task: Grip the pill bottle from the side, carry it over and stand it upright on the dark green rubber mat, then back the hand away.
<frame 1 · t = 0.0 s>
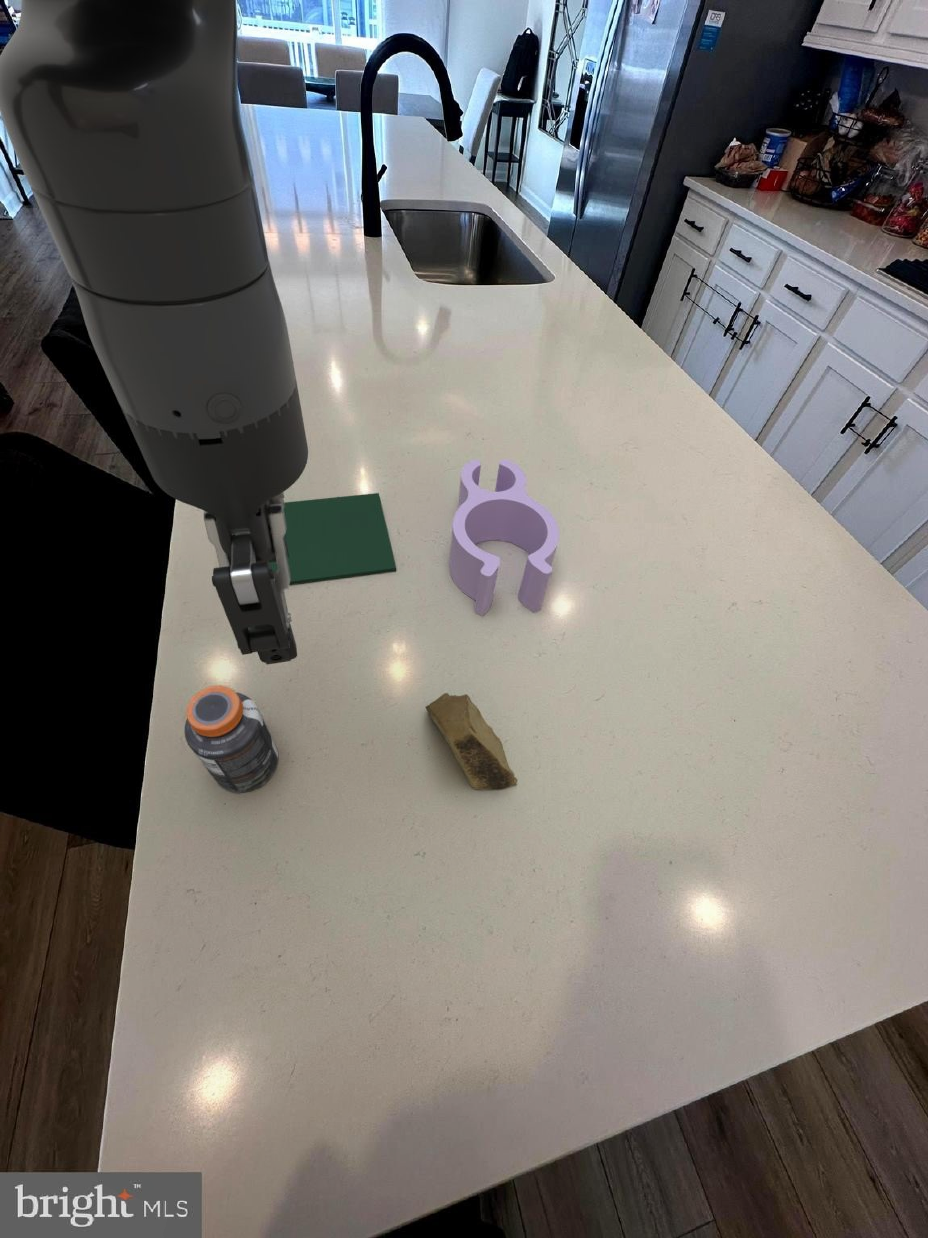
hand: (276, 604, 37), 21 cm above the worktop, tool pointing down, fingers open, 8 cm apart
rock: (467, 745, 56), on the worktop
pill bottle: (246, 764, 53), on the worktop
mat: (308, 540, 71), on the worktop
clip: (495, 553, 72), on the worktop
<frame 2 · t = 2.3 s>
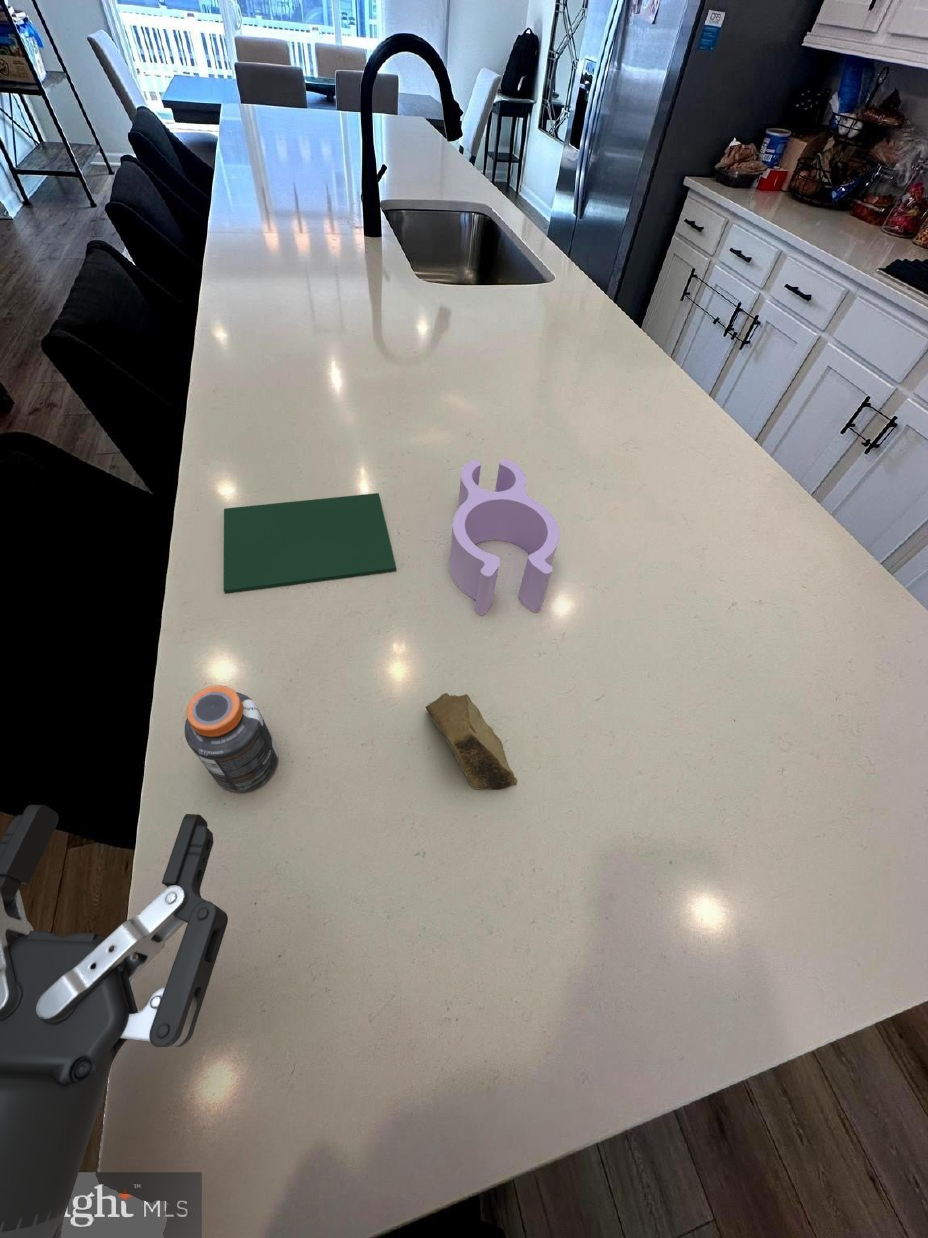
hand: (121, 813, 32), 18 cm above the worktop, tool horizontal, fingers open, 8 cm apart
nothing on the worktop moved.
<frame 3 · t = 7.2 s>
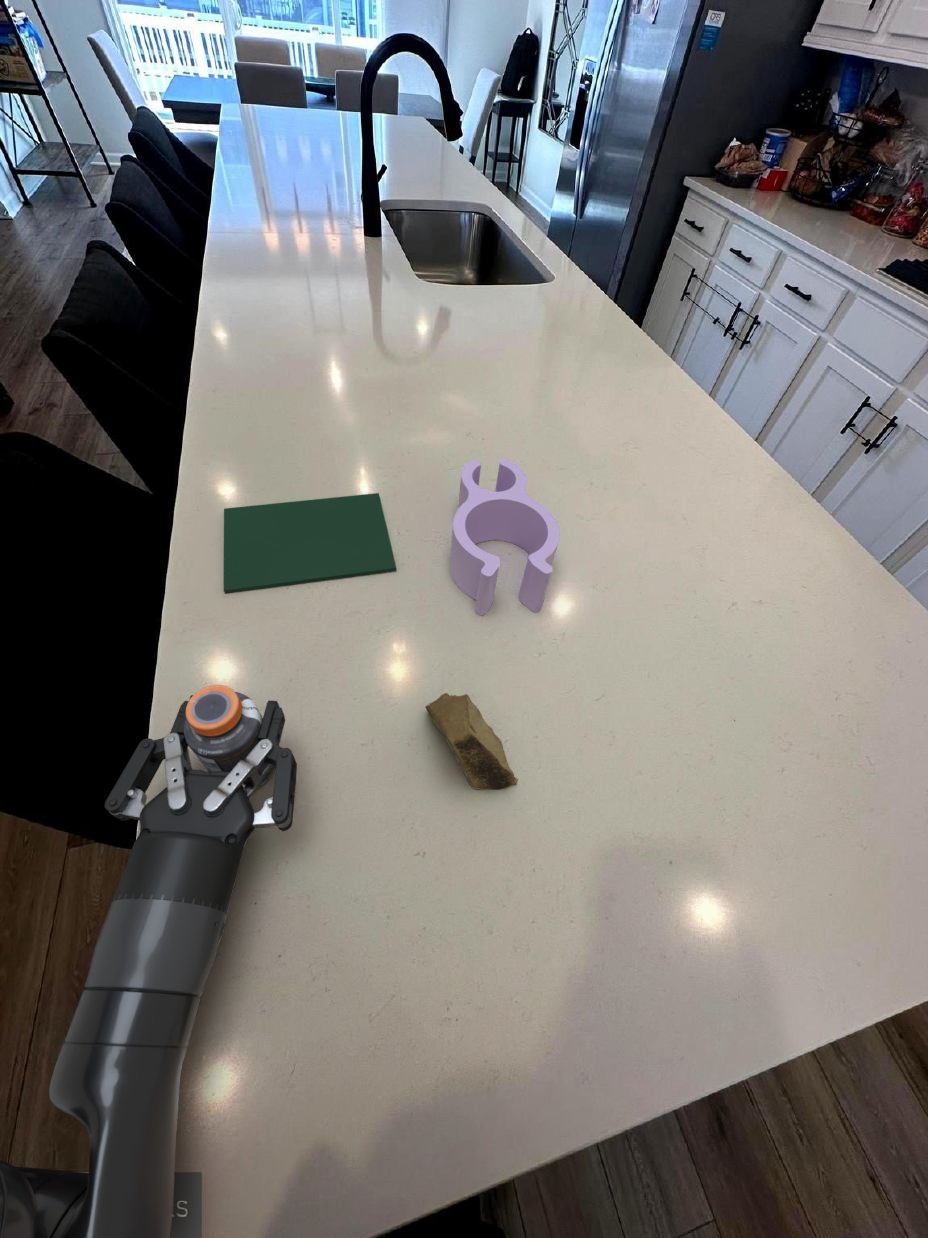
hand: (236, 702, 49), 7 cm above the worktop, tool horizontal, fingers closed on pill bottle, 6 cm apart
pill bottle: (246, 764, 53), on the worktop, touching gripper
everything else where it was.
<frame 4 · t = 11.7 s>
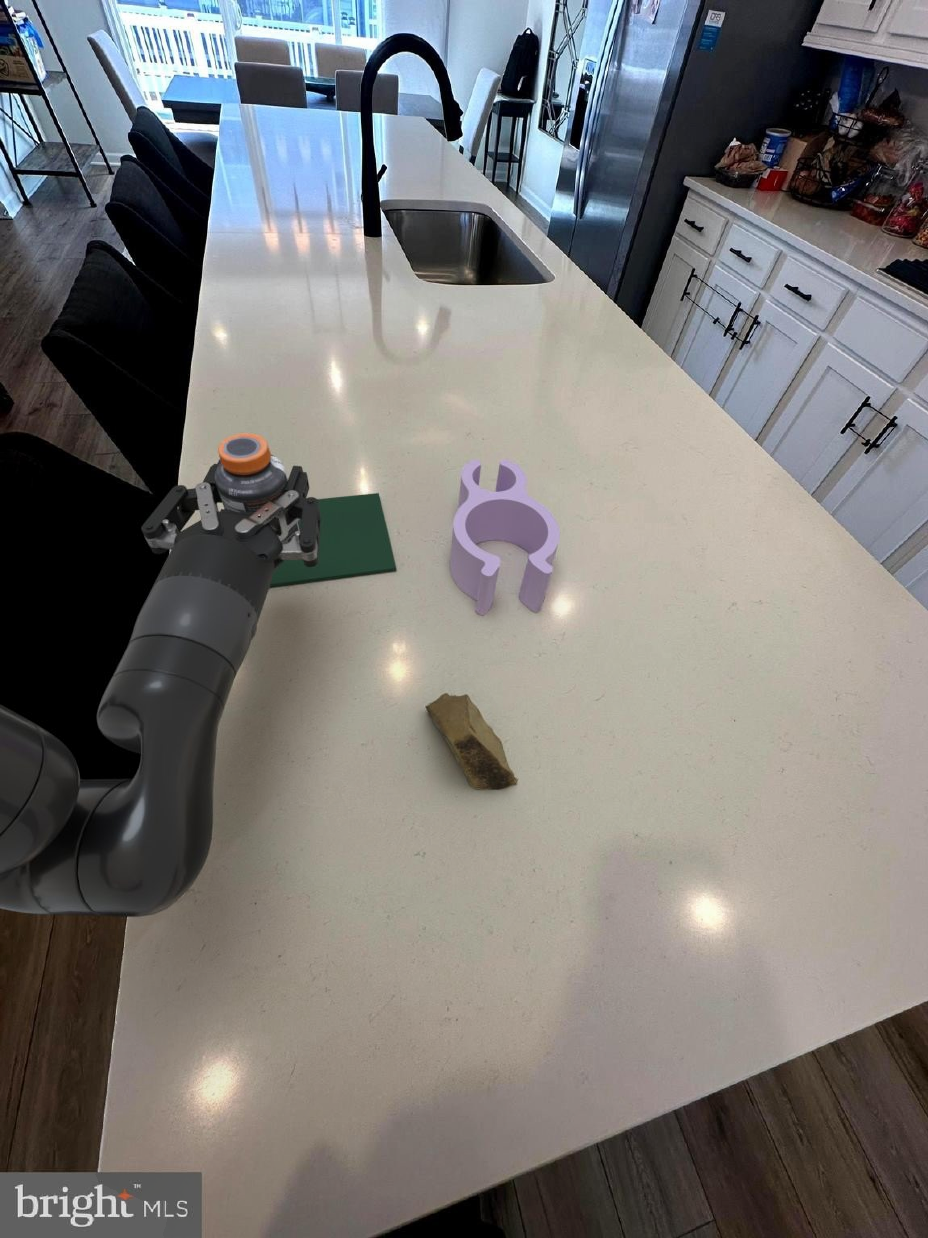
hand: (263, 470, 51), 18 cm above the worktop, tool horizontal, fingers closed on pill bottle, 6 cm apart
pill bottle: (270, 545, 55), point 11 cm above the worktop, touching gripper
everything else where it was.
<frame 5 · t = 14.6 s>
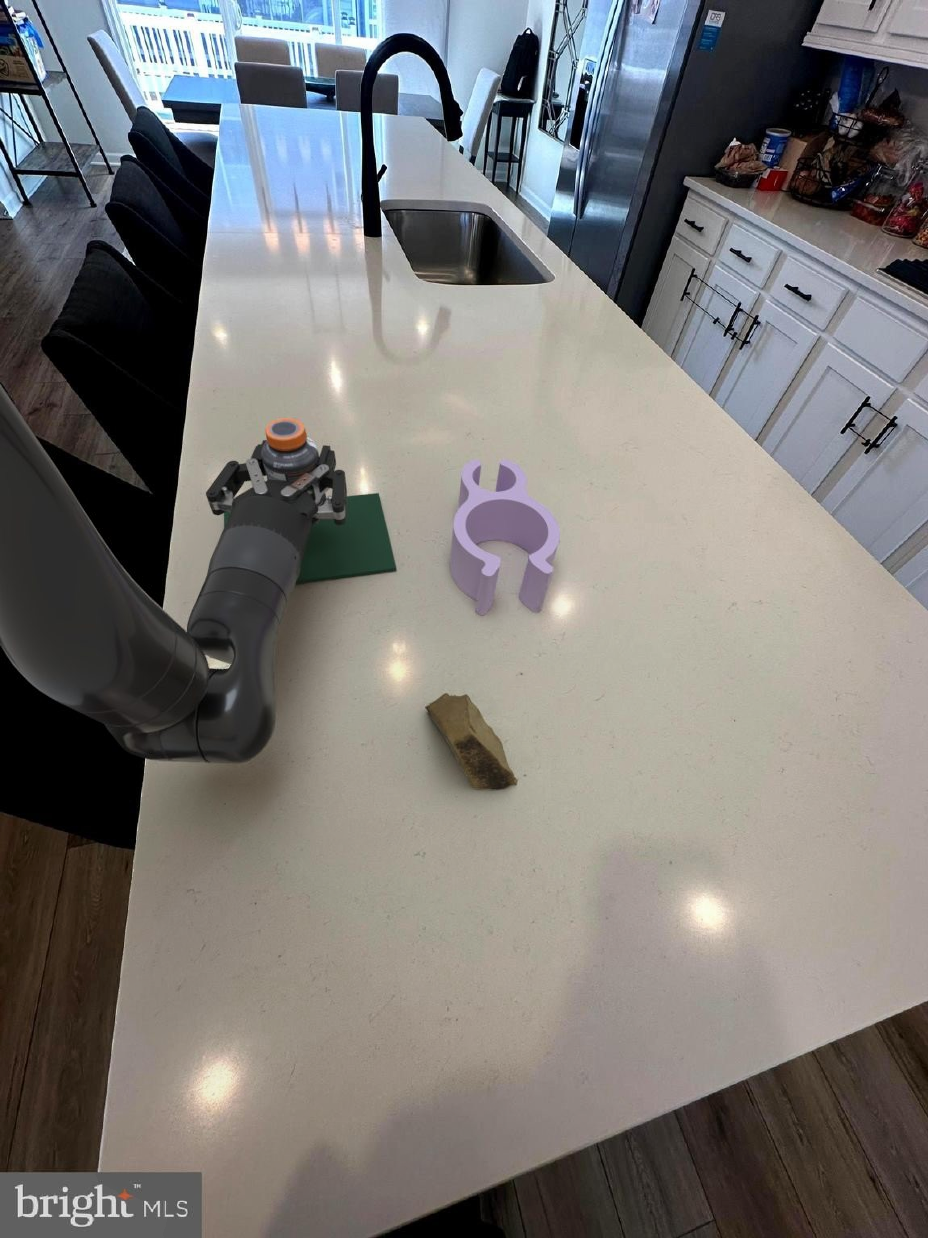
hand: (298, 449, 62), 12 cm above the worktop, tool horizontal, fingers closed on pill bottle, 6 cm apart
pill bottle: (302, 513, 66), point 5 cm above the worktop, touching gripper
everything else where it was.
when the fingers open (7 cm above the worktop, at t = 16.5 s): pill bottle stays where it is, resting on mat.
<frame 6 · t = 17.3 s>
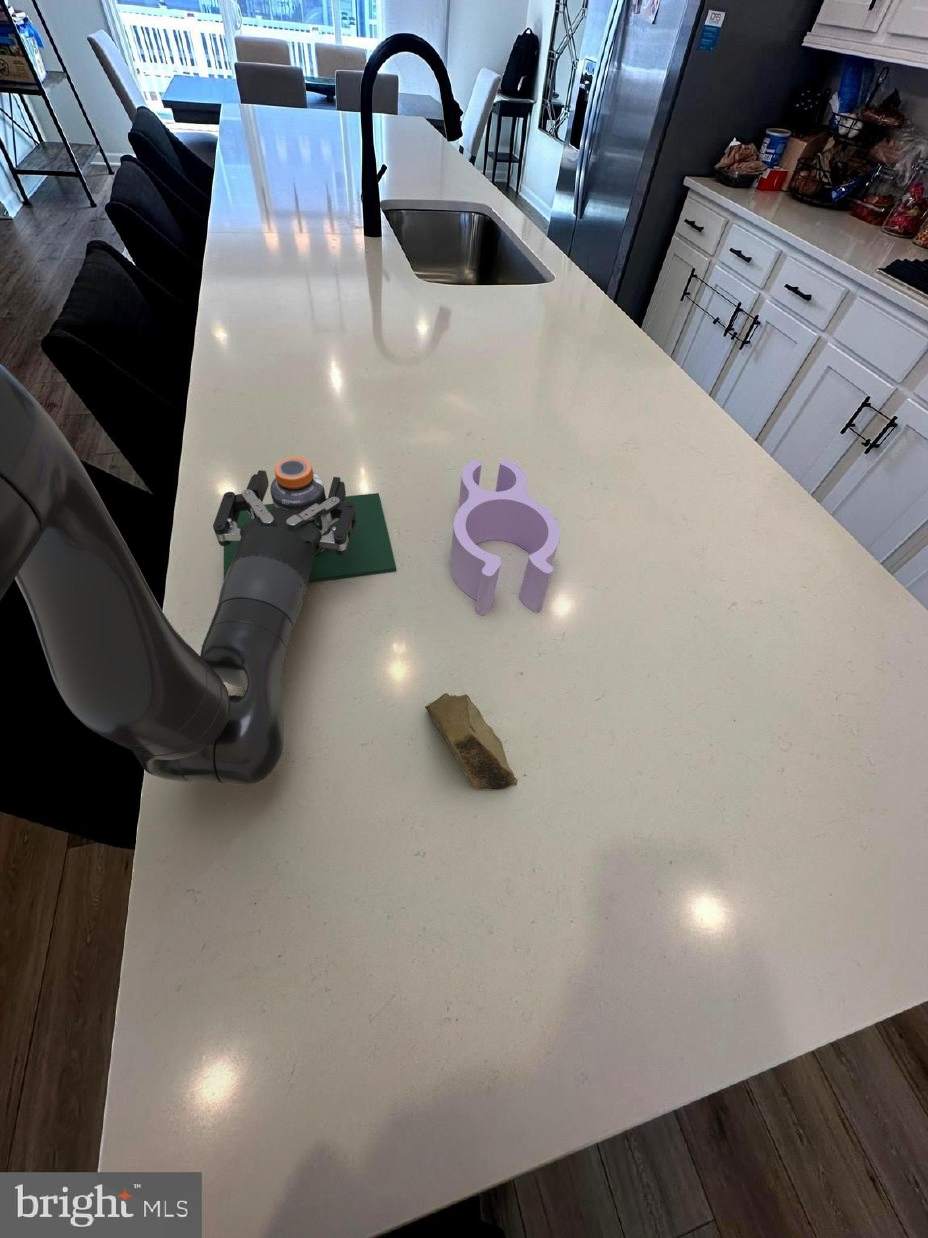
hand: (301, 479, 65), 8 cm above the worktop, tool horizontal, fingers open, 8 cm apart
pill bottle: (308, 541, 70), resting on mat
everything else where it was.
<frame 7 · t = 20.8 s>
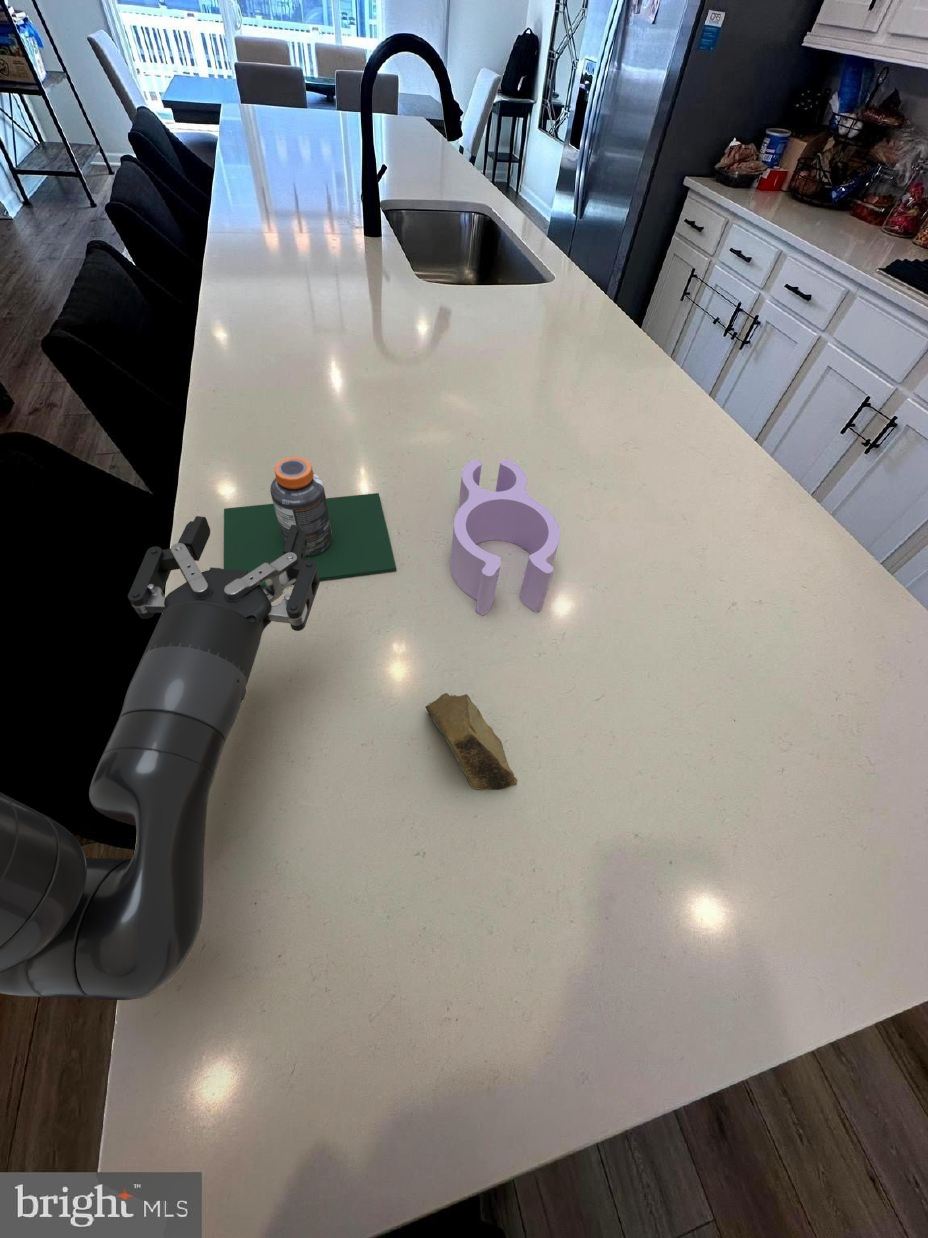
hand: (250, 527, 52), 14 cm above the worktop, tool horizontal, fingers open, 8 cm apart
nothing on the worktop moved.
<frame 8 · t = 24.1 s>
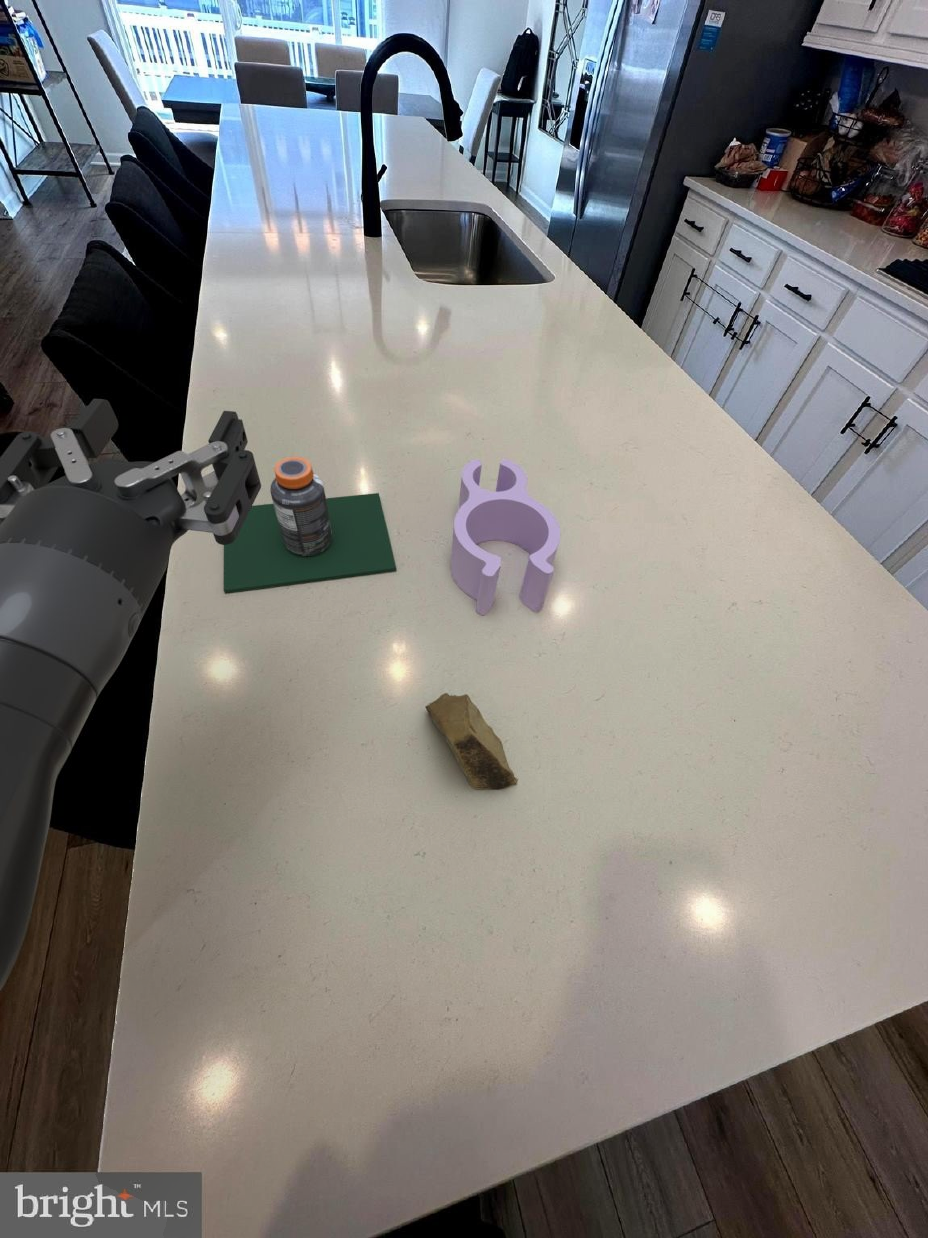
hand: (171, 416, 38), 28 cm above the worktop, tool horizontal, fingers open, 8 cm apart
nothing on the worktop moved.
at the end: pill bottle inside the target area on the mat (0.6 cm from its centre), point 0.4 cm above the mat's base; pill bottle tilted 0°; the gripper is holding nothing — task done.
